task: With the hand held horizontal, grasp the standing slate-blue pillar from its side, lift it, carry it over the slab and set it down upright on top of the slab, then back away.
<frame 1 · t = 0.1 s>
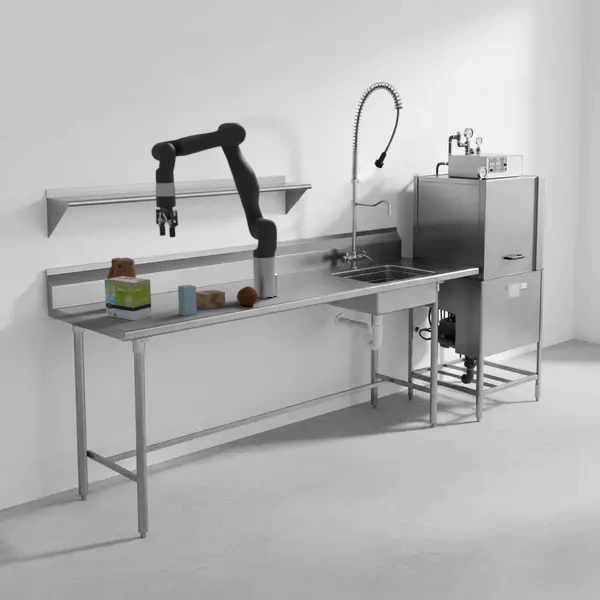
hand: (167, 236, 348), 29 cm above the table, tool pointing down, fingers open, 8 cm apart
tea box: (129, 317, 340), on the table
pillar: (187, 314, 343), on the table
potato: (247, 305, 360), on the table
brown piece: (122, 308, 359), on the table
slab: (210, 306, 359), on the table
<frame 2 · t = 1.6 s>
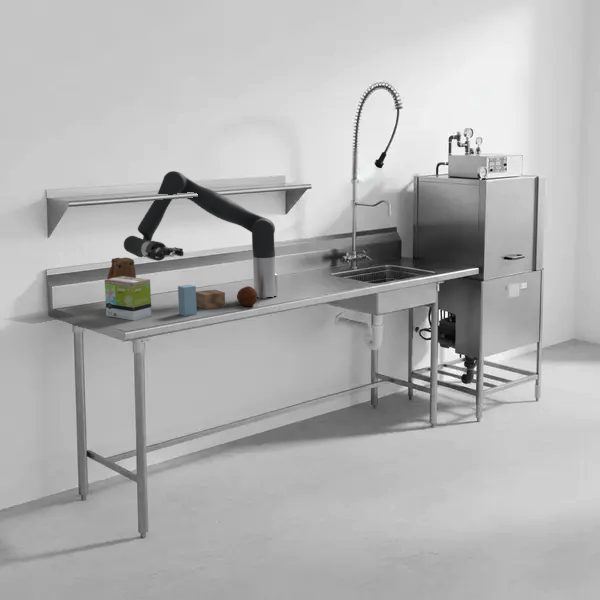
hand: (172, 254, 348), 22 cm above the table, tool horizontal, fingers open, 8 cm apart
nothing on the table moved.
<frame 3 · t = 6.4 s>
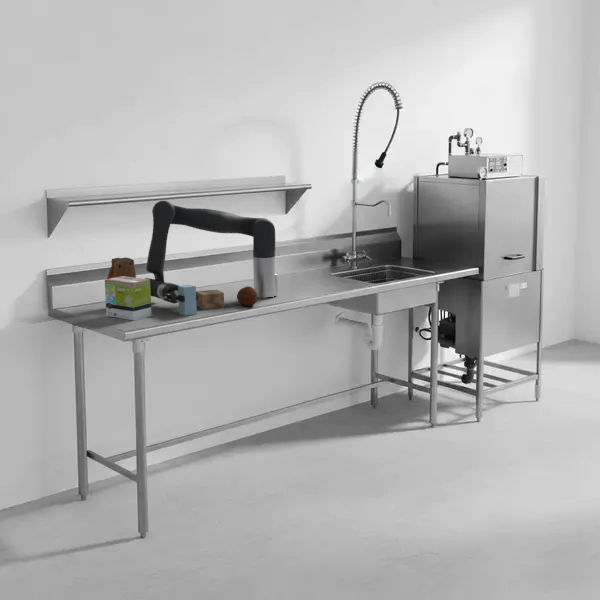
hand: (190, 298, 340), 7 cm above the table, tool horizontal, fingers closed on pillar, 5 cm apart
pillar: (187, 314, 343), on the table, touching gripper
everything else where it was.
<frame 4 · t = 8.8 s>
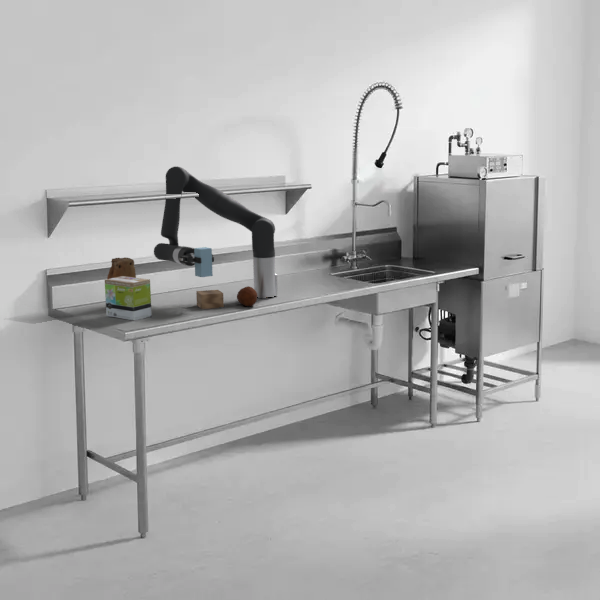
hand: (206, 260, 349), 20 cm above the table, tool horizontal, fingers closed on pillar, 5 cm apart
pillar: (203, 275, 352), point 13 cm above the table, touching gripper
everything else where it was.
when the fingers open (13 cm above the table, at t = 11.2 s): pillar drops 1 cm, resting on slab.
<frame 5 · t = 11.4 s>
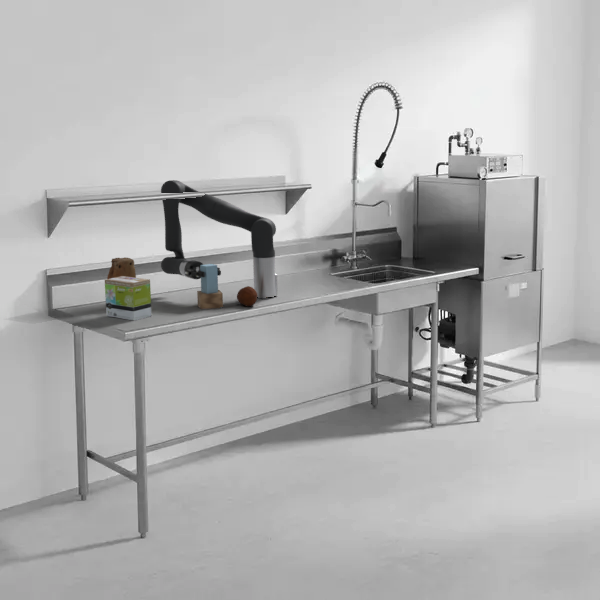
hand: (211, 273, 355), 13 cm above the table, tool horizontal, fingers open, 6 cm apart
pillar: (209, 292, 358), point 6 cm above the table, touching slab
slab: (210, 306, 359), on the table, touching pillar
everything else where it was.
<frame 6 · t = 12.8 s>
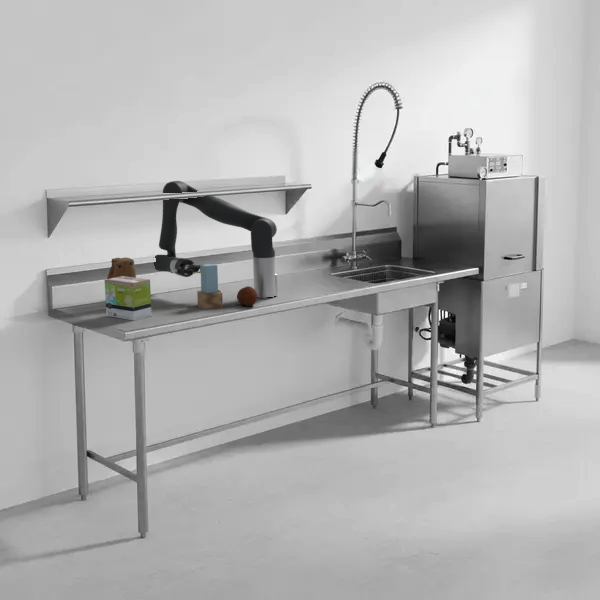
hand: (201, 271, 362), 13 cm above the table, tool horizontal, fingers open, 8 cm apart
nothing on the table moved.
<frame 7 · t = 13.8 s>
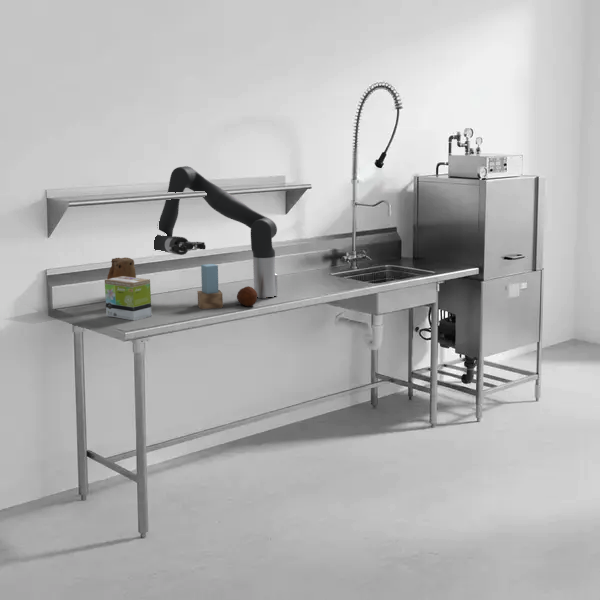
hand: (195, 247, 364), 23 cm above the table, tool horizontal, fingers open, 8 cm apart
nothing on the table moved.
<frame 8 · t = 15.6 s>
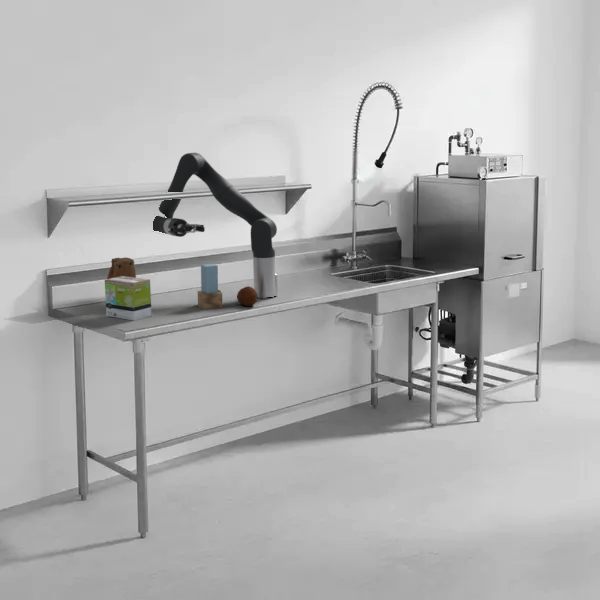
hand: (194, 230, 363), 30 cm above the table, tool horizontal, fingers open, 8 cm apart
nothing on the table moved.
at the end: pillar 0.3 cm off-centre on the slab, point 6.1 cm above the slab's base; pillar tilted 1°; the gripper is holding nothing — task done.
